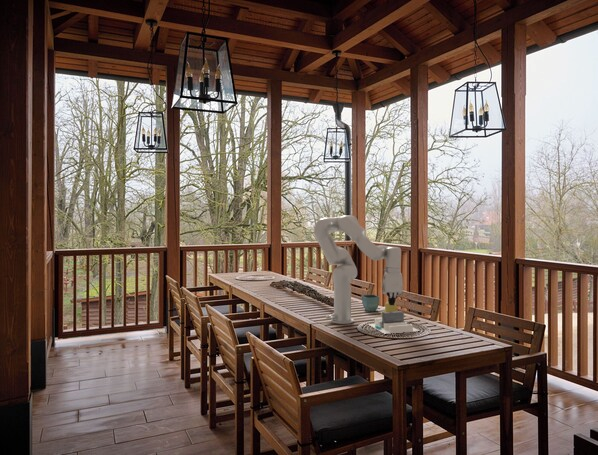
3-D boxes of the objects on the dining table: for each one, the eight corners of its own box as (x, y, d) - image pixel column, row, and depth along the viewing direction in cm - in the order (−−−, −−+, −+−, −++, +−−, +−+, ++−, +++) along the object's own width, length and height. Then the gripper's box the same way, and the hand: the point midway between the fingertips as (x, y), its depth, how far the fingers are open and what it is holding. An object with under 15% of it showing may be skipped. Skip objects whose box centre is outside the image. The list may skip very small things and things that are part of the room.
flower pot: (366, 312, 286) (366, 297, 285) (360, 309, 294) (361, 295, 294) (379, 311, 288) (379, 297, 288) (373, 308, 297) (373, 294, 296)
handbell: (386, 317, 272) (386, 274, 271) (377, 313, 284) (377, 272, 283) (405, 316, 275) (405, 274, 274) (395, 311, 287) (395, 271, 286)
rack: (384, 335, 235) (384, 327, 235) (367, 325, 254) (367, 318, 254) (419, 332, 240) (419, 324, 240) (400, 322, 259) (401, 316, 259)
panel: (384, 328, 244) (384, 313, 244) (382, 327, 247) (382, 312, 247) (403, 327, 247) (403, 312, 247) (400, 325, 250) (401, 310, 250)
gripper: (383, 271, 240) (381, 306, 241) (409, 271, 244) (407, 306, 245) (376, 269, 247) (375, 303, 249) (402, 269, 251) (400, 302, 253)
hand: (391, 304), depth 247 cm, fingers closed
